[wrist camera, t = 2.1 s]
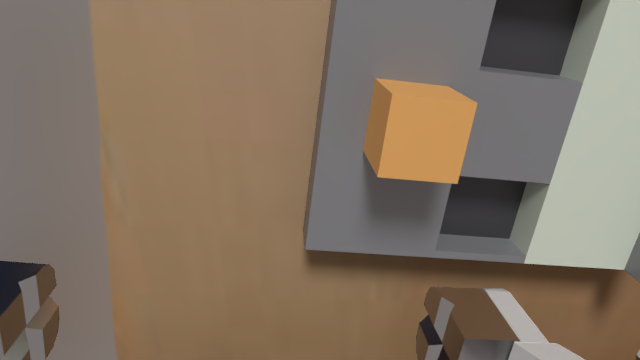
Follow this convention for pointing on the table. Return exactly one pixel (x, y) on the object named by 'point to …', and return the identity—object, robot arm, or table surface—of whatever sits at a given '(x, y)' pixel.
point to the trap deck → (488, 132)
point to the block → (418, 131)
